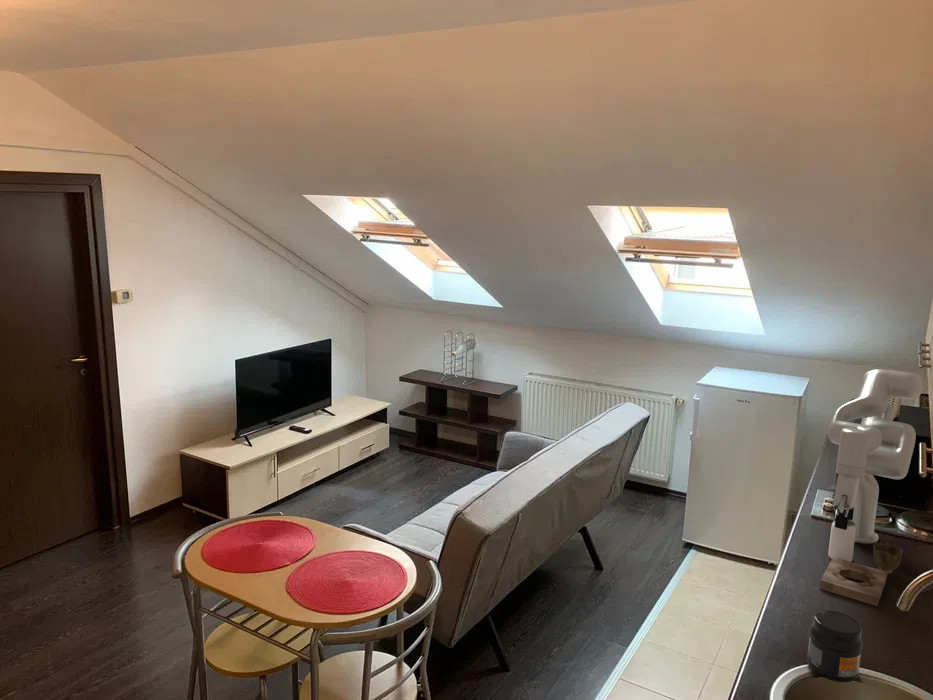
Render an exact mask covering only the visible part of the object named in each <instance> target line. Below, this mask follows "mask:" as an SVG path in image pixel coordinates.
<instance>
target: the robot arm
mask: <svg viewBox="0 0 933 700" xmlns="http://www.w3.org/2000/svg"><path fill="white" fill-rule="evenodd" d="M861 382H862V384H861V387H860V391H859V393H858V395H857V397H856V399H853V400H851V401H848V402H847V403H844V404H843V405H841V406H840V407H838V408H837V409H836V410H835V412H834V414H833V416H832V418H831V421H830V424H829V427H828V430H827V438H828V440H829V441H830V442H831V443H832V444H835V445H838V451H837V458H836V459H837V460H836V464H835V465H836V468H835V473H836V474H837V476H838V477H837V479H836V484H835V485H836V486H835V492H834V499H833V503H832V504H833V506H834V507H836V506H837V509H836V510H837V511H836V514H835V518H834V519H835V527H836V528H840V529H844V530H846V529H847V524H848V520H850V521H852V522H854V523H855V525H854V526H855V528H856V533H855V541H854V543H860V544H875V542H877V543H878V541H879V535H878V533H876V532H875V523H876V517H877V508H878V500H879V493H880V488H879V483H878V481H877V480H876V478H875V477H874V476H878V477H882V478H888V479H892V480H902V479H904V478H905V477H906V476H907V474H908V472H909V468H910V464H911V461H912V456H913V453H914V448H915V444H916V436H917V435H916V430H915V428H914V427H913V426H912V425H911V424H909V423H905V422H900V421H895V420H894V417H895V410H894V408H893V406H892V405H891V403H890V400H891V399H890V398H898V399H907V400H913V401H915V400H917V399H918V398H919V397H920V396H921V395H922V393H923V388H924V382H923V379H922V377H921V376H920V375H919V374H915V373H912V372H909V371H908V372H907V371H900V370H891V369H884V368H883V369H881V368H876V369H872V370H868V371H867V372H865V373H864V375H863V377H862V381H861ZM859 419H861V422H860V423H855V422H852V421H853V420H854V421H855V420H859ZM893 420H894V421H893ZM850 421H851V422H850Z"/></svg>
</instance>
